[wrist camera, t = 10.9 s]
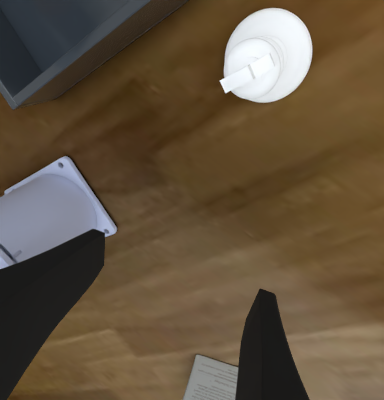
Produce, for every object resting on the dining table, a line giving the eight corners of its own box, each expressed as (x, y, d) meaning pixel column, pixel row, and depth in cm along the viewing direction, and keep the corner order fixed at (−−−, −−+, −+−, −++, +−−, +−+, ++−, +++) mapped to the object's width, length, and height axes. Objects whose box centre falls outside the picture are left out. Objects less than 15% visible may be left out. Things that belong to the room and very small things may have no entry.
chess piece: (211, 39, 17) (138, 38, 9) (293, -13, 15) (297, -78, 7) (245, 115, 19) (208, 175, 10) (324, 78, 17) (358, 116, 8)
